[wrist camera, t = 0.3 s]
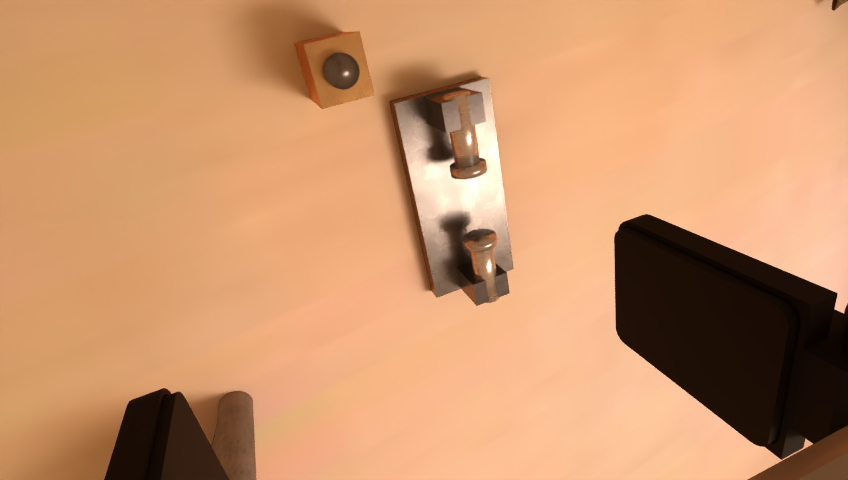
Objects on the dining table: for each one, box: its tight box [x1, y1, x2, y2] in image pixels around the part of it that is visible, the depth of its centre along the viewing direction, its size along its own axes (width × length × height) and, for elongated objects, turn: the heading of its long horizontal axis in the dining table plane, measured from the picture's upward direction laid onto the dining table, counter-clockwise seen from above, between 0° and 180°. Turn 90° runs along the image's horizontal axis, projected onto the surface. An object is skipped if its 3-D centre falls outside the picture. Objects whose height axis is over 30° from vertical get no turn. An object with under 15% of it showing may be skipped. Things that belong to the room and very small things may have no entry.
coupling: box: [294, 31, 374, 109], centre depth 36 cm, size 4×4×7 cm
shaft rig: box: [390, 77, 513, 306], centre depth 45 cm, size 20×9×6 cm, turn 12°
